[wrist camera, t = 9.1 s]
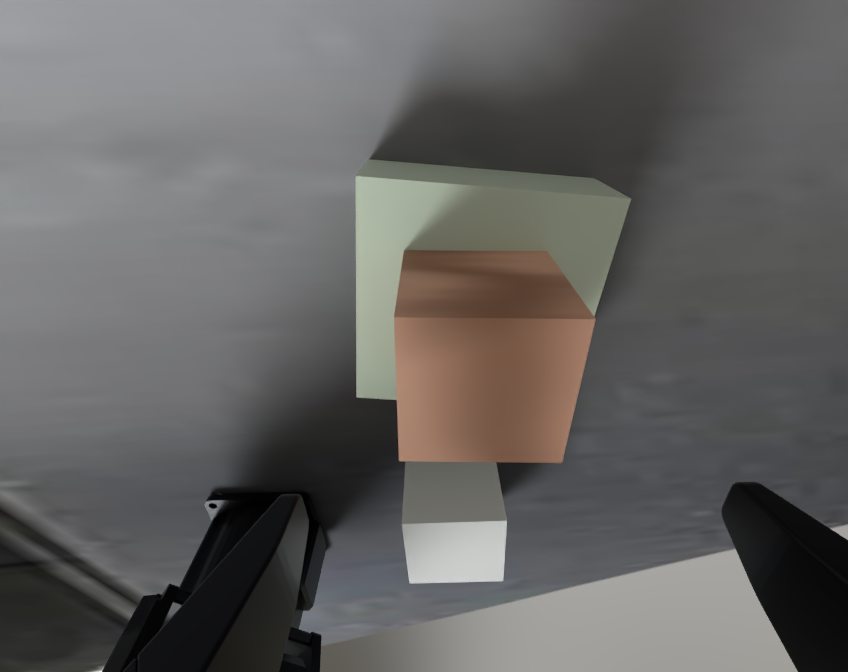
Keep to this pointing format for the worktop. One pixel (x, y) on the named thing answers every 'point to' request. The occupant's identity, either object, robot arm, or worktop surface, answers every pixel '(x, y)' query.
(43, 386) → the worktop surface
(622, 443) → the worktop surface
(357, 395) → the sage base block
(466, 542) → the grey cube
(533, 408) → the terracotta cube
